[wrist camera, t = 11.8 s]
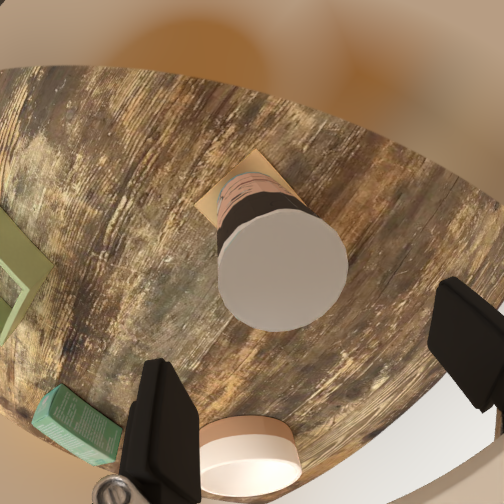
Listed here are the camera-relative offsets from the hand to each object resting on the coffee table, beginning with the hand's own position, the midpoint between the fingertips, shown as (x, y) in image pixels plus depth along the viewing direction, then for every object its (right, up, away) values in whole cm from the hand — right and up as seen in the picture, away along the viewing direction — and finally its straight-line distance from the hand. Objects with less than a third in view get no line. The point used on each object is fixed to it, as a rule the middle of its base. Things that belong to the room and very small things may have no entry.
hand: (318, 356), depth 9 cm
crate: (-34, +2, +19) cm, 39 cm away
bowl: (-4, -29, +35) cm, 46 cm away
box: (-31, -23, +29) cm, 48 cm away
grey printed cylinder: (-2, +8, +20) cm, 21 cm away
